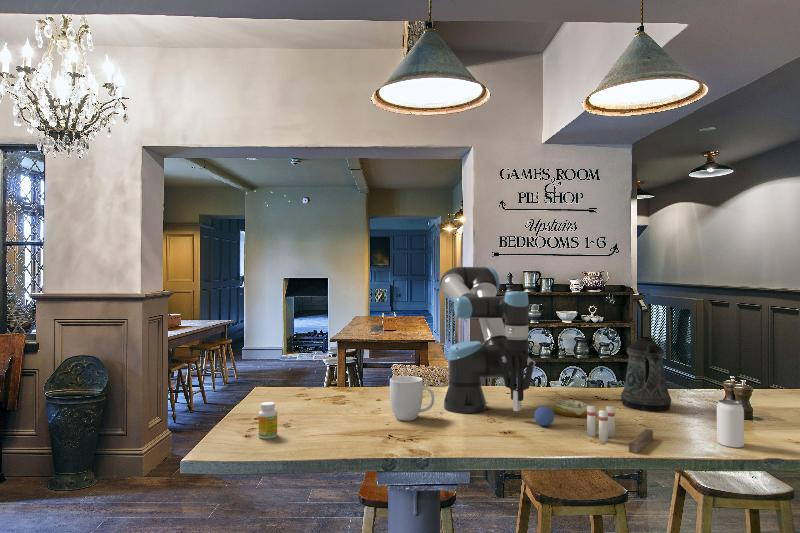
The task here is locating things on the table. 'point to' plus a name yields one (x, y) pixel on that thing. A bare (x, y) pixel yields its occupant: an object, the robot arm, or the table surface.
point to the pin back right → (603, 426)
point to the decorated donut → (571, 408)
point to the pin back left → (611, 421)
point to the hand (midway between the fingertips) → (517, 410)
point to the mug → (408, 397)
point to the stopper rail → (640, 441)
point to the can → (730, 423)
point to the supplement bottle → (267, 421)
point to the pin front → (591, 420)
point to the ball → (544, 416)
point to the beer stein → (645, 378)
